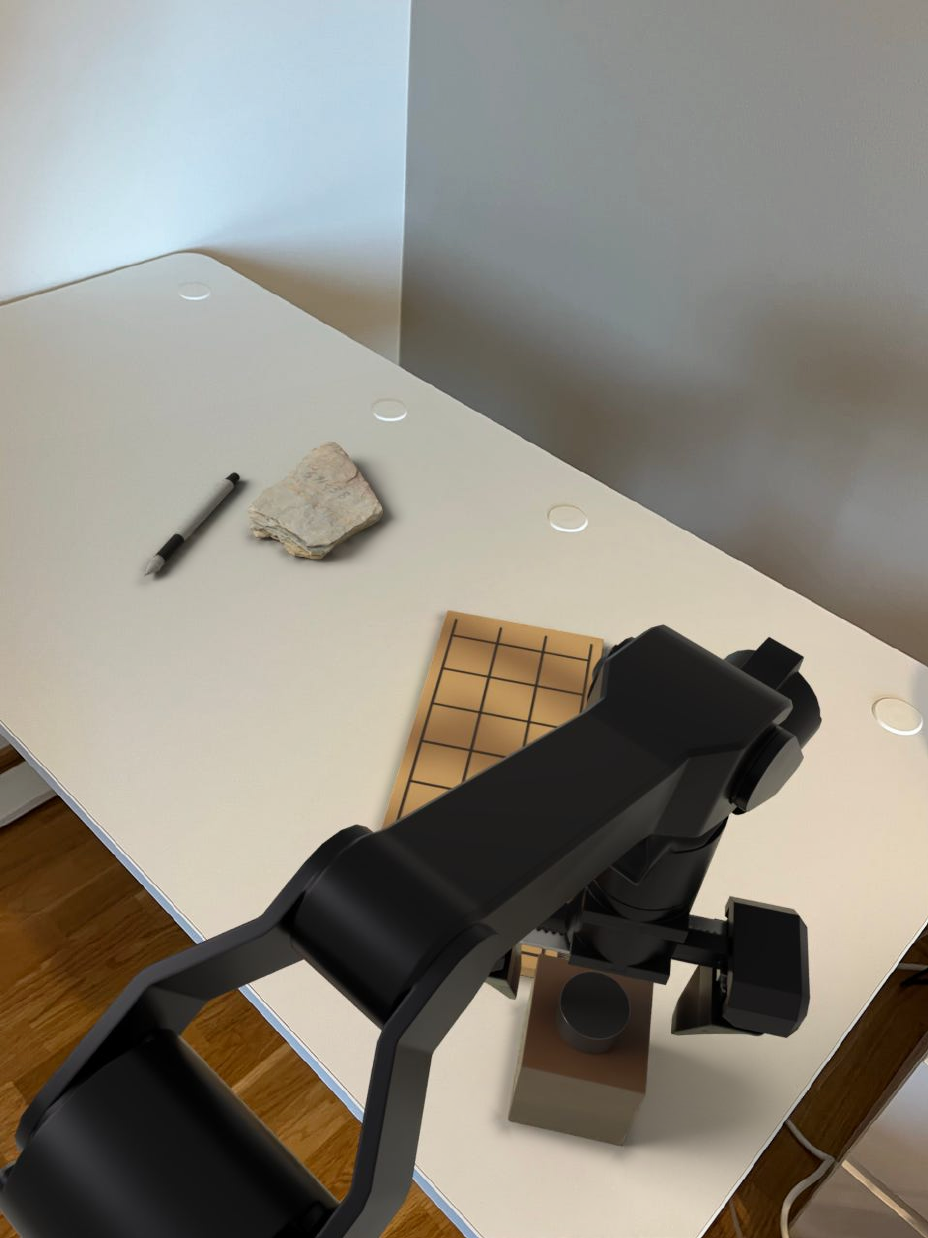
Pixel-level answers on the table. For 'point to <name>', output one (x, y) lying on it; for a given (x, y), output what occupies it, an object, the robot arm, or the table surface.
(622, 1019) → the game stone
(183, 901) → the table surface
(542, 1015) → the stone stand
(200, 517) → the pen
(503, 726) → the board
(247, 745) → the table surface
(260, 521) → the stone
